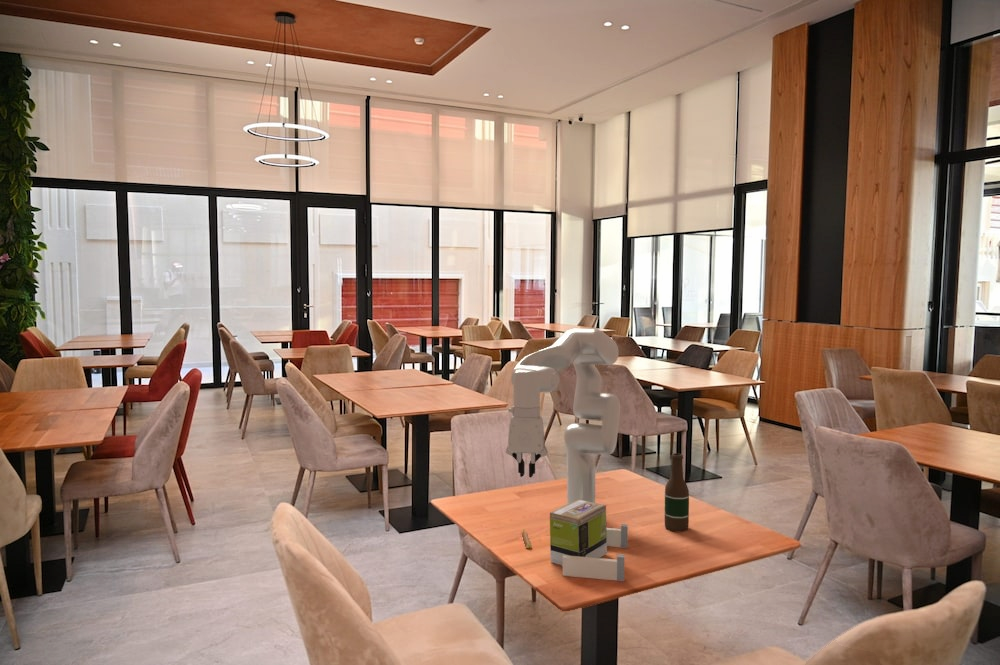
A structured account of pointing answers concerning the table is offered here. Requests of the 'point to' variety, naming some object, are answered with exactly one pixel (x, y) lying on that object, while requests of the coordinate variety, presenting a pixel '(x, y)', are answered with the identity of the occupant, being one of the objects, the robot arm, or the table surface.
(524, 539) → the chocolate bar
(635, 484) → the table surface
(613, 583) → the table surface
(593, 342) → the robot arm
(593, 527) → the tea box
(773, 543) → the table surface
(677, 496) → the beer bottle
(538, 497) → the table surface
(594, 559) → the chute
